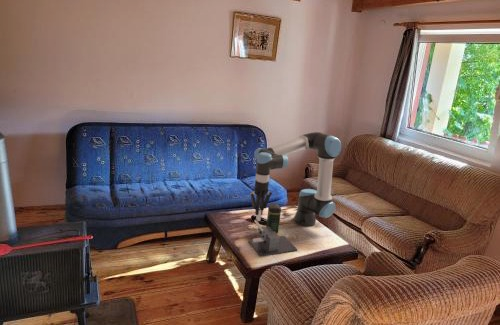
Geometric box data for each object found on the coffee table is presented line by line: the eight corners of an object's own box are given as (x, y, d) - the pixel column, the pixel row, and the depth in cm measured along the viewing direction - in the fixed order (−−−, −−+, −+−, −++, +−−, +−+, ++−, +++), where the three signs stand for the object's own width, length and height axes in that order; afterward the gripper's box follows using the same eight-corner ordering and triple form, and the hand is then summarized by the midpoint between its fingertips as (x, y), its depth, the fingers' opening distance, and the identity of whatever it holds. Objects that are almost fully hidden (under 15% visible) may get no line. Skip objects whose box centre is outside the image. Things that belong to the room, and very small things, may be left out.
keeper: (260, 231, 208) (262, 230, 208) (265, 236, 202) (267, 235, 203) (253, 220, 203) (255, 218, 204) (257, 225, 198) (259, 223, 198)
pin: (273, 240, 213) (274, 231, 211) (278, 245, 208) (279, 235, 206) (250, 243, 207) (251, 234, 206) (254, 248, 202) (255, 239, 200)
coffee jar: (279, 235, 224) (282, 208, 219) (266, 234, 223) (269, 207, 218) (277, 228, 233) (280, 202, 228) (265, 227, 233) (267, 201, 227)
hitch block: (283, 237, 222) (285, 220, 219) (297, 250, 208) (299, 233, 204) (248, 241, 213) (250, 224, 210) (259, 256, 198) (261, 238, 195)
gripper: (269, 177, 200) (265, 216, 207) (248, 179, 195) (245, 218, 202) (275, 182, 193) (271, 221, 200) (253, 183, 188) (250, 224, 195)
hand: (258, 219), depth 201 cm, fingers closed
